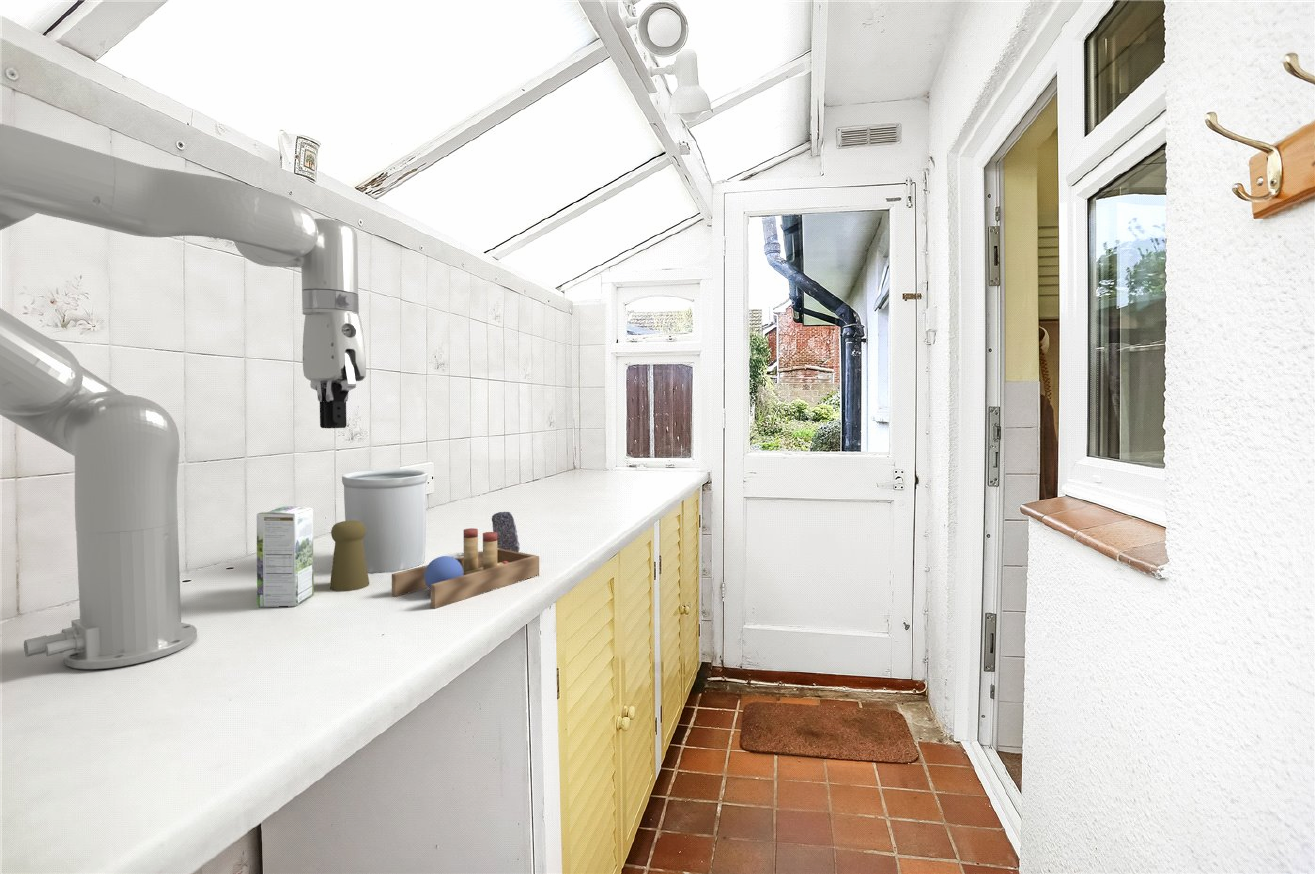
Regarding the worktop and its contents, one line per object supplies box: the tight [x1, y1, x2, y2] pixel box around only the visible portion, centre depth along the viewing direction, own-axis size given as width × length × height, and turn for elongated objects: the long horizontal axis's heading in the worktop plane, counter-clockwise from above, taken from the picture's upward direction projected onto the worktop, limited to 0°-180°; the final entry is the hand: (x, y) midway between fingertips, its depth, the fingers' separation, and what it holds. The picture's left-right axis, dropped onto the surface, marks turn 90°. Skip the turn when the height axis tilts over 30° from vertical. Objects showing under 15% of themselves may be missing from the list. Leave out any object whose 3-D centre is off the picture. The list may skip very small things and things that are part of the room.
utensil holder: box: [341, 468, 428, 574], centre depth 118 cm, size 15×15×18 cm
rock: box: [491, 511, 521, 552], centre depth 123 cm, size 12×5×10 cm, turn 20°
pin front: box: [463, 561, 509, 575], centre depth 108 cm, size 2×2×9 cm
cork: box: [329, 520, 370, 592], centre depth 103 cm, size 6×6×11 cm
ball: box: [424, 555, 463, 590], centre depth 100 cm, size 6×6×6 cm
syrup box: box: [256, 505, 314, 608], centre depth 95 cm, size 6×6×14 cm
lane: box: [391, 548, 540, 609], centre depth 105 cm, size 22×11×4 cm, turn 146°
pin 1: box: [463, 527, 479, 572], centre depth 108 cm, size 2×2×9 cm
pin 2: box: [482, 531, 497, 570], centre depth 105 cm, size 2×2×9 cm
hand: (333, 427), depth 93 cm, fingers closed
